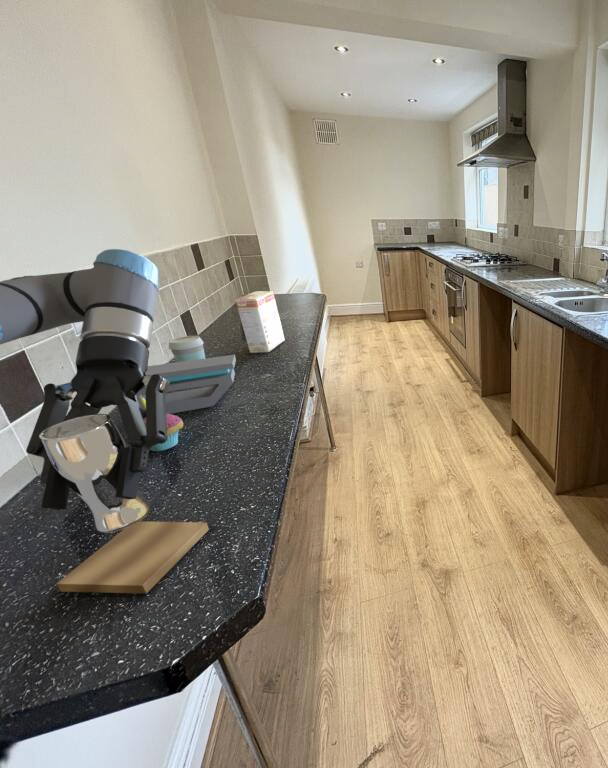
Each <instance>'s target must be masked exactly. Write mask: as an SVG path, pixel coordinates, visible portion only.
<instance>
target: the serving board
mask: <svg viewBox="0 0 608 768" xmlns="http://www.w3.org/2000/svg"><path fill="white" fill-rule="evenodd" d="M209 530H210V528H209V525H208V523H207V522H196V521H195V522H191V521H185V522H184V521H142V520H141V521H139V522H137V523H136V524H134V525H132V526H130V527H127V528H125V529H122V530H120V532H119V533H117V534H116V535H115V536H113V538H111V539H110V540H109V541H108V542H106V543H105V544H104V545H103V546H102V547H100V548H99V549H98V550H96V551H95V552H94V553H93V554H91V555H90V556H89V557H87V558H86V559H85V560H83V562H82V563H79V565H77V566H76V567H75V568H74V569H73V570H71V571H70V572H69V573H68V574H66V575H65V576H64V577H63V578H61V579H60V580H59V581H58V582H57V583H56V586H57V588H58V589H59V592H61V593H62V592H65V593H103V594H105V593H107V594H108V593H109V594H148V593H149V592H150V591H151V590H152V589H153V588H154V587H155V585H156V584H157V583H159V582H160V581H161V580H162V578H164V576H166V574H167V573H168V572H169V571H170V570H171V569H173V567H175V566H176V564H177V563H178V562H179V561H180V560H181V559H182V558H183V557H184V556H185V555H186V554H187V553H188V552H189V551H190V550H191V549H192V548H193V547H194V546H195V545H196V544H198V542H199V541H200V539H202V538H203V536H205V534H207V533H208V531H209Z"/></svg>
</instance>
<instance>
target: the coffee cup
mask: <svg viewBox="0 0 608 768" xmlns="http://www.w3.org/2000/svg"><path fill="white" fill-rule="evenodd" d="M168 350H170V351H171V353H172V355H173V357H174V359H175V361H176V362H183V361H190V360H198V359H205V358H206V353H205V348H204V341H203V339H202V338H201V337H200V336H199V335H185V336H180V337H175V338H172V339H170V340H169V341H168Z"/></svg>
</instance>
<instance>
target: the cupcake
mask: <svg viewBox="0 0 608 768" xmlns="http://www.w3.org/2000/svg"><path fill="white" fill-rule="evenodd" d="M140 397H141V399H140V400H141V402H142V404H143V406H144V408H145V410H144V411H146V401H145V399H144V398H142V396H141V395H140ZM142 419H143V421H144V424H145V427H146V417H144V418H142ZM166 426H167V440H166V442H165V443H163V444H156V445H154V446H152V447H151V448H150V449H149V451H151V452H161V451H166V450H169V449H171V448H173V447H175V446H176V445H178V443H179V431H180V430H182V429H183V427H184V422H183V420H182V418H181V417H179V416H178V415H174V414H173V413H172V414H166Z"/></svg>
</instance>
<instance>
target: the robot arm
mask: <svg viewBox="0 0 608 768" xmlns="http://www.w3.org/2000/svg"><path fill="white" fill-rule="evenodd" d="M92 266H93V267H92V268H85V269H78V270H73V271H69V272H68V271H67V272H57V273H46V274H38V275H24V276H18V277H11V278H10V279H9V278H8V279H4V280H1V281H0V346H1V345H3V344H4V345H5V344H6V343H10V342H13V341H16V340H19V339H22V338H26V337H29V336H33V335H37V334H40V333H42V332H47V331H49V330H52V329H55V328H59V327H62V326H67V325H70V324H77V323H82V326H81V330H80V335H79V337H80V341H79V343H78V348H77V352H76V357H75V367H76V373H75V375H74V376H73V378H72V379H71V380H70V381H69V382H66V383H62V384H58V385H57V384H54V383H50V382H49V383H47V384H45V385H44V387H43V395H44V400H43V404H42V406H41V409H40V412H39V414H38V417H37V419H36V423H35V425H34V427H33V430H32V433H31V436H30V438H29V442H28V444H27V447H26V451H25V452H26V454H28V455H32V456H37V457H39V458H43V465H42V470H41V475H40V483H42V484H45V487H44V492H43V497H42V501H41V509H47V510H56V511H63V510H67V507H68V501H69V496H70V490H71V488H70V487H69V486H68V485H67V484H66V483H65V482H64V480H63V479H62V478H61V477H60V476H59V474H58V473H57V471H56V470H55V468H54V467H53V465H52V463H51V461H50V459H49V457H48V455H47V453H46V450H45V448H44V445H43V443H42V441H41V439H40V437H39V435H40V434H41V433H42V432H43V431H44V430H46V429H47V428H49V427H51V426H53V425H55V424H58V423H60V422H63V421H66V420H69V419H73V418H76V417H81V416H85V415H92V414H100V412H101V410H102V408H106V407H107V408H108V407H111V406H117V409H118V412H119V415H120V419H121V420H122V423H123V426H124V430H125V432H126V435H127V438H128V441H127V442H126V445H128V446H127V447H124V448H122V455H121V462H120V469H119V476H118V483H117V490H116V497H119V498H124V499H129V500H130V499H136V496H137V488H139V479H140V473H145V472H146V470H147V469H148V460H149V452H150V448H151V447H152V446H154V445H156V444H163V443H165V442H166V440H167V426H166V400H165V395H166V394H167V393H168V392H167V390H168V387H169V384H170V383H169V381H167V380H166V379H164V378H163V377H161V376H160V375H158V374H154V375H152V376H146V374H145V372H146V371H147V367H148V366H149V358H150V350H149V348H150V347H151V341H152V333H153V325H154V313H155V308H156V303H157V297H158V293H159V289H160V288H159V270H158V268H157V265H155V264H154V263H153V262H152V261H151V260H150V259H149V258H148V257H146V256H143V255H142V254H139V253H137V252H134V251H131V250H128V249H127V250H126V249H119V248H111V249H110V248H109V249H105V250H103V251H100V253H99V254H97V255H96V258H95V260H94V261H93V264H92ZM144 386H145V389H146V410H145V418H146V427H145V424H144V421H143V419H144V418H143V417H142V416H143V415H142V413H141V410H140V408H139V407H140V405H139V402H138V399H137V397H136V394H137V393H138V392H139V391H140V390H141V389H142V388H143V387H144ZM74 393H76V394H75V396H73V394H74Z"/></svg>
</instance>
